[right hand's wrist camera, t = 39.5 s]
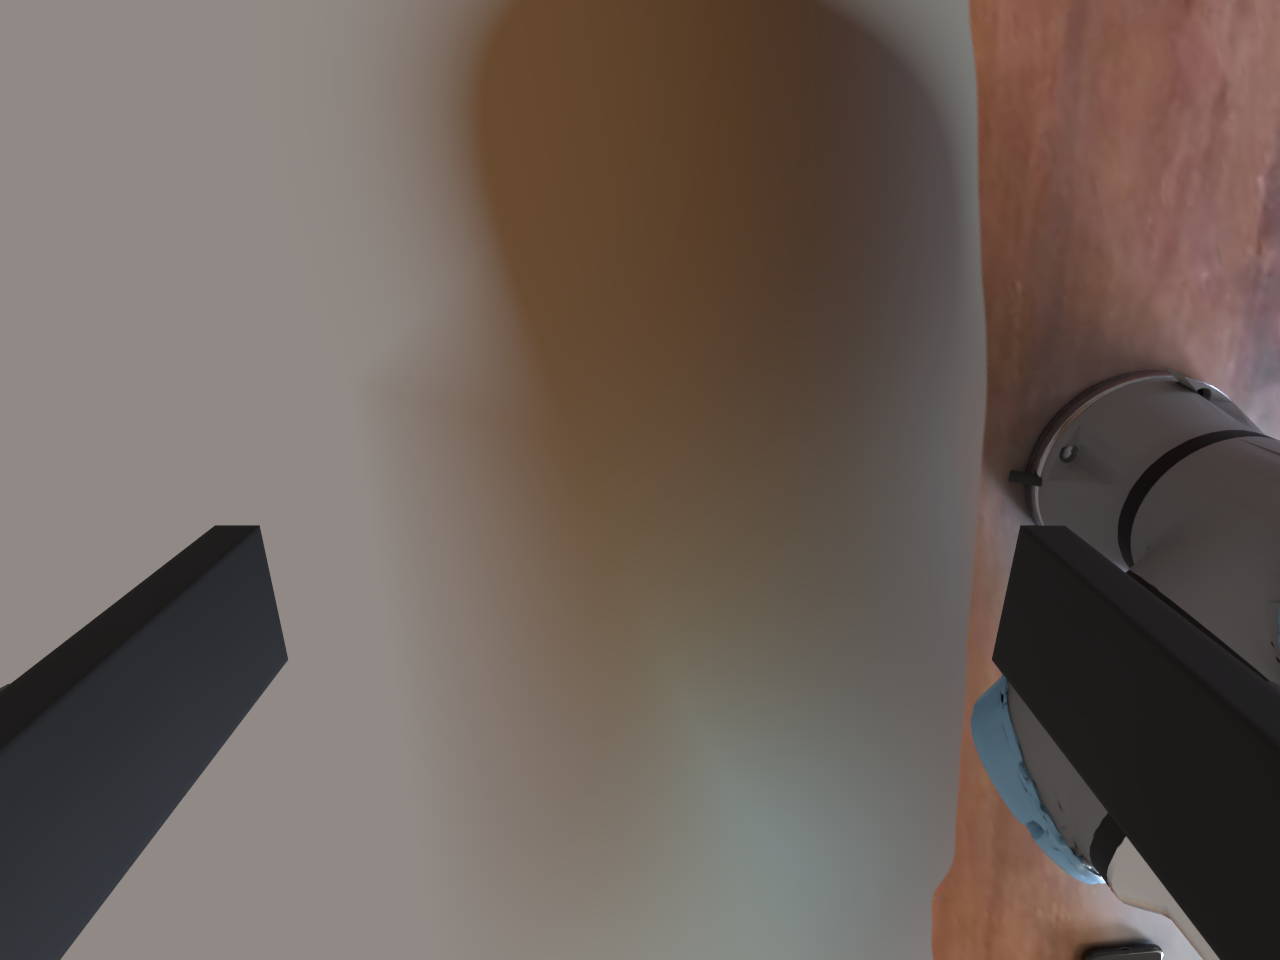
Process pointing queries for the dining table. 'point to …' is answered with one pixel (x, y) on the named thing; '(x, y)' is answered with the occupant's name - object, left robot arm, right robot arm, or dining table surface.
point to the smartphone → (1126, 953)
